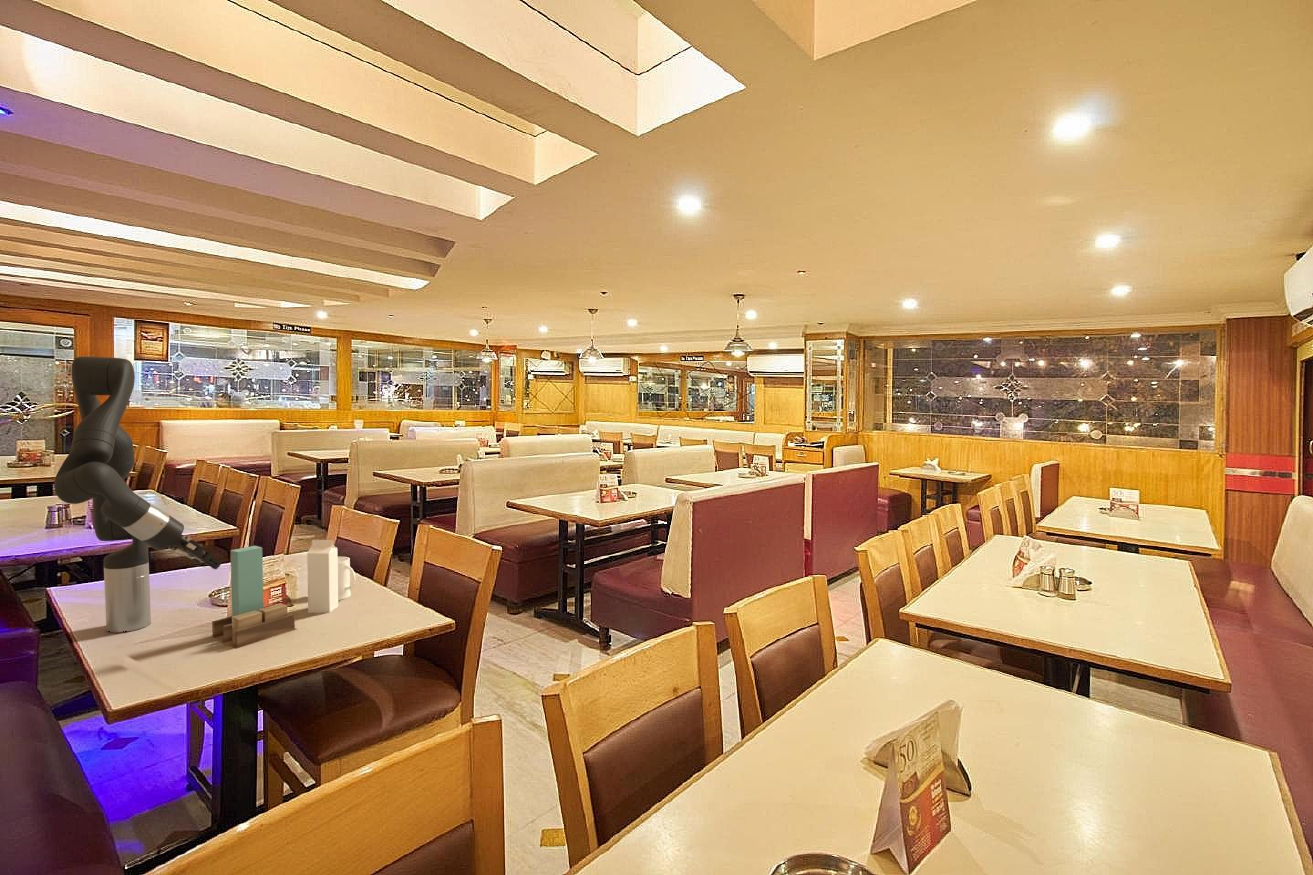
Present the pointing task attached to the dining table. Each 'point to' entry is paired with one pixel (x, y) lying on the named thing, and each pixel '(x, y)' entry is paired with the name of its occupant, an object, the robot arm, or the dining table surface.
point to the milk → (322, 576)
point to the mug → (344, 578)
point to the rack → (251, 631)
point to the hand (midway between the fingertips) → (210, 563)
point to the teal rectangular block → (246, 580)
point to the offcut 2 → (273, 612)
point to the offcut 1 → (245, 621)
